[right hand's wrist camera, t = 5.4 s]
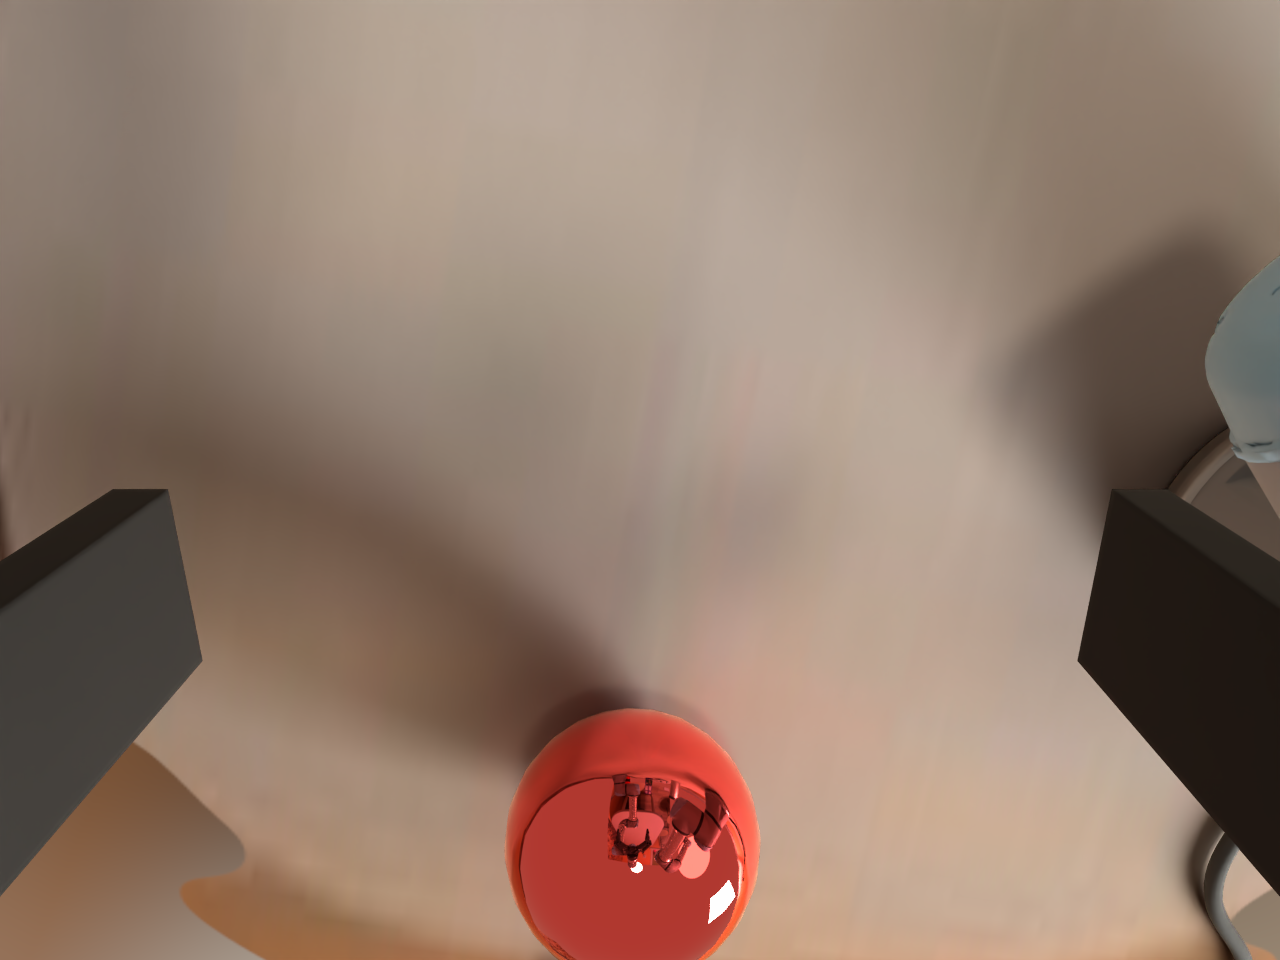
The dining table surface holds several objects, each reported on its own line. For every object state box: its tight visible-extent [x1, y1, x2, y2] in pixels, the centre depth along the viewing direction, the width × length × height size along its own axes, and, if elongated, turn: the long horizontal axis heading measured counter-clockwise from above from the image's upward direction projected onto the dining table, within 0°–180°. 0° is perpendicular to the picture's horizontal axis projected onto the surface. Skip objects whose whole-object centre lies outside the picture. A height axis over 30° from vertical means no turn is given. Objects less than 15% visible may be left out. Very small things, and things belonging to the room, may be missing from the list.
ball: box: [504, 708, 760, 960], centre depth 42 cm, size 12×12×12 cm
